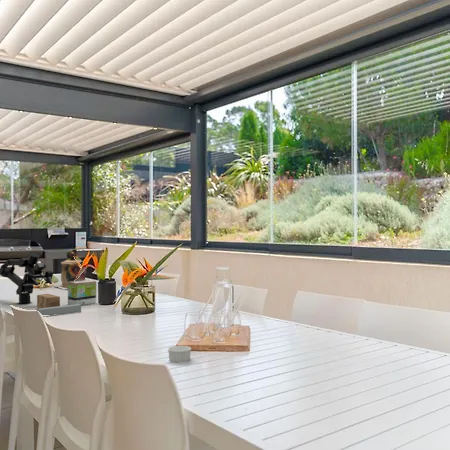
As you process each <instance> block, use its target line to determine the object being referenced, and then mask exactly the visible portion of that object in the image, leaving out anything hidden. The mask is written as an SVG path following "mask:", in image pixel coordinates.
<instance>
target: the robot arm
mask: <svg viewBox="0 0 450 450" xmlns="http://www.w3.org/2000/svg"><path fill="white" fill-rule="evenodd" d="M39 258H40V254H38V253H36V252H34V251H30V253H29V256H28V257H23V258H22V257H21V258H19V259H13V258H12V259H5V262H4V263H3V264H1V266H0V276H1V277H3V278H7V279H9V280H10V281H11V282H12V283H14V284H15V285H16V286H17V289H16V291H15V293H16V295H17V296H18V302H17V303H16V304H18V305H28V304H32V303H33V301H31V295H32V294H33V292H34V286H36V287H39V283H38V282H37V281H38V280H44V281H45V282H46V283H48V284H49V285H52V284H53V282H52V278H53V276H54V272H53V271H52V270H48V271H45V273H44V274H43V272H44V271H43V270H44V269H47V264H46V263H45V262H44V263H43V262H39ZM15 266H18V267H19V268H24V275H23V278H21V277H20V276H19V275H17V274H16V273H15V269H16V268H15Z"/></svg>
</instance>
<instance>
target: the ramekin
mask: <svg viewBox="0 0 450 450" xmlns="http://www.w3.org/2000/svg"><path fill="white" fill-rule="evenodd" d="M191 351H192V347H191V346H188V345H173V346H170V347H168V349H167V352H168V359H169V361H170V362H172V363H184V362H188V361H190V359H191Z"/></svg>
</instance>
